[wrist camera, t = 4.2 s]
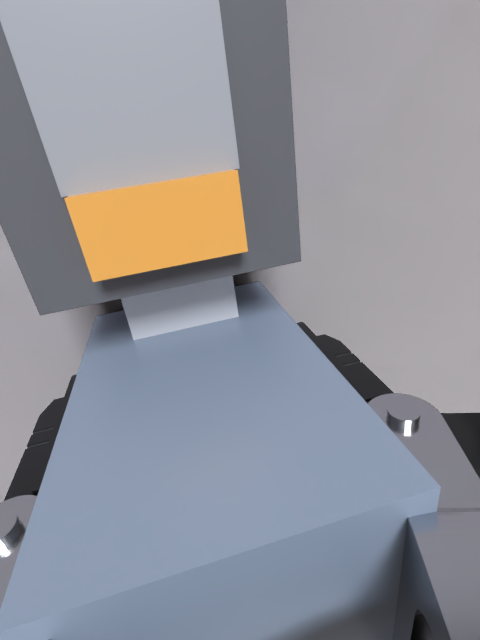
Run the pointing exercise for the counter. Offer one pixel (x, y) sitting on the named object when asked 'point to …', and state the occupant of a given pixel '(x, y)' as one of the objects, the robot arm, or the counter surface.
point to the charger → (214, 485)
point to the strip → (144, 144)
